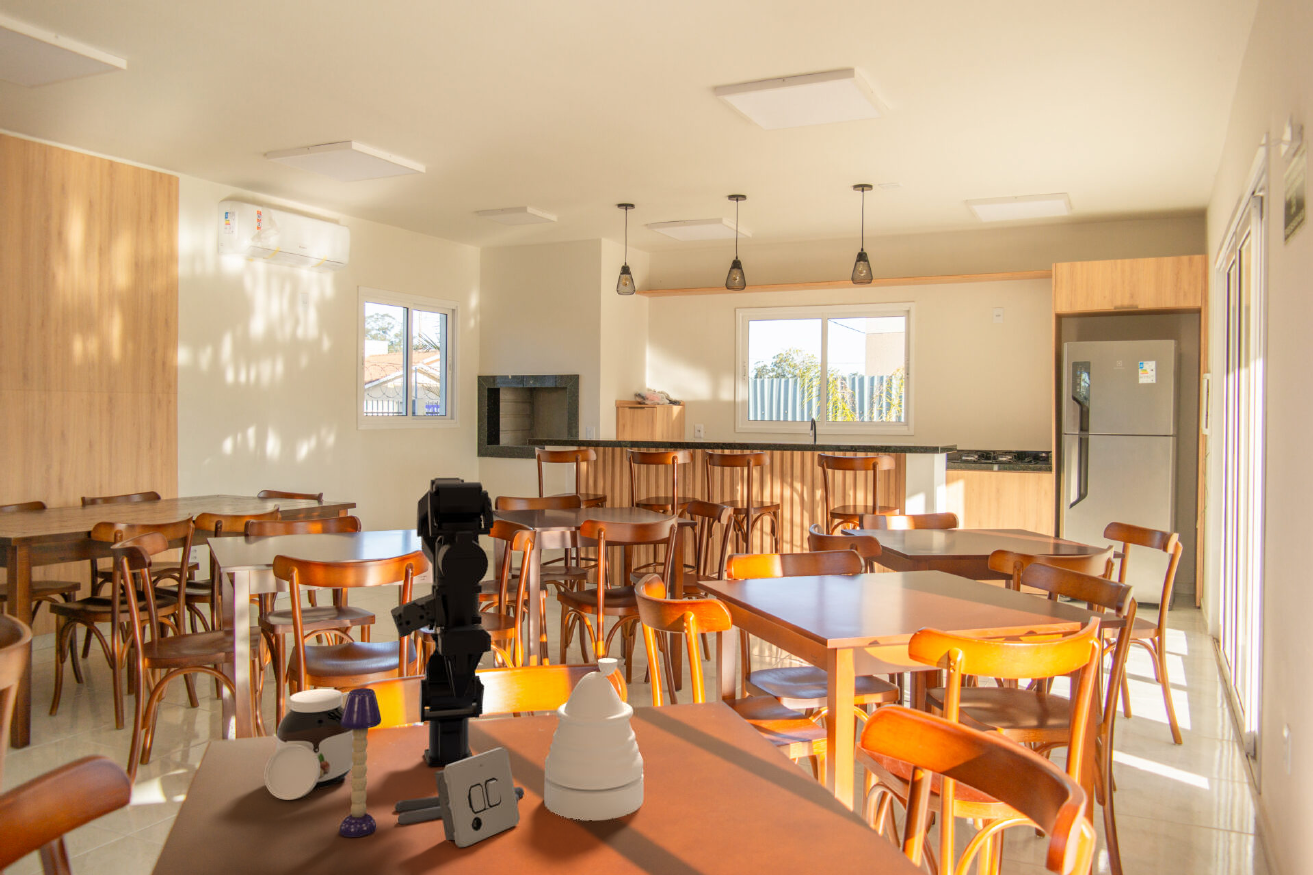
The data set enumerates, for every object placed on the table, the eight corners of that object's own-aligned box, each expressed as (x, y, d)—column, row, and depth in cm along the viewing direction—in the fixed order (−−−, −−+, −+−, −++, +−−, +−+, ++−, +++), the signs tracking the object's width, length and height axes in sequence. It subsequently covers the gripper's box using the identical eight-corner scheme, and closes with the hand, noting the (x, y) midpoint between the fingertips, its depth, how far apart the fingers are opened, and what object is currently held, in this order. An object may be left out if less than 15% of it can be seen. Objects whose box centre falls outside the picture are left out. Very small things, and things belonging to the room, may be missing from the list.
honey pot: (613, 776, 131) (614, 647, 131) (661, 807, 120) (662, 666, 120) (528, 793, 125) (528, 657, 125) (571, 828, 114) (571, 679, 114)
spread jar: (348, 765, 135) (349, 684, 135) (363, 792, 125) (364, 704, 125) (258, 779, 129) (258, 694, 129) (266, 808, 119) (266, 716, 119)
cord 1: (394, 810, 119) (394, 799, 119) (522, 795, 125) (522, 784, 125) (395, 814, 118) (395, 803, 118) (524, 798, 123) (524, 788, 123)
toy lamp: (345, 821, 115) (345, 685, 115) (383, 820, 116) (384, 684, 115) (335, 838, 110) (336, 696, 110) (376, 837, 111) (376, 695, 111)
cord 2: (396, 823, 115) (396, 811, 115) (516, 801, 122) (516, 790, 122) (399, 827, 114) (399, 815, 114) (520, 805, 121) (520, 794, 121)
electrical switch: (460, 851, 107) (456, 768, 108) (432, 843, 110) (428, 762, 111) (521, 825, 115) (517, 748, 115) (493, 818, 118) (488, 743, 118)
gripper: (390, 569, 132) (390, 680, 132) (400, 589, 114) (399, 718, 114) (470, 565, 135) (470, 674, 135) (492, 585, 118) (491, 710, 118)
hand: (457, 692), depth 125 cm, fingers open, 5 cm apart
